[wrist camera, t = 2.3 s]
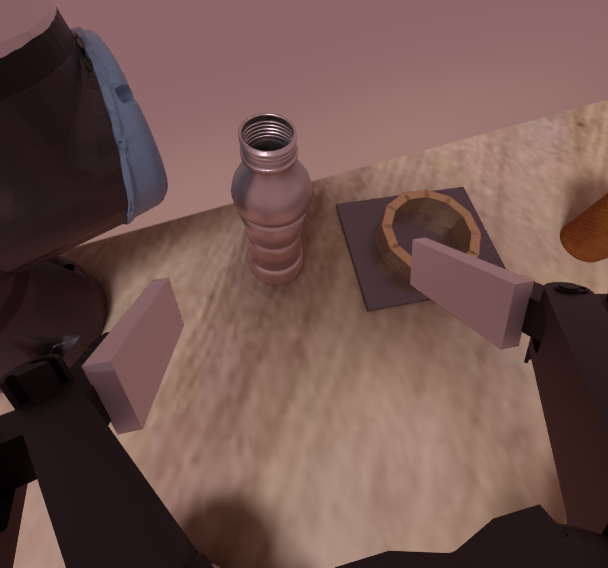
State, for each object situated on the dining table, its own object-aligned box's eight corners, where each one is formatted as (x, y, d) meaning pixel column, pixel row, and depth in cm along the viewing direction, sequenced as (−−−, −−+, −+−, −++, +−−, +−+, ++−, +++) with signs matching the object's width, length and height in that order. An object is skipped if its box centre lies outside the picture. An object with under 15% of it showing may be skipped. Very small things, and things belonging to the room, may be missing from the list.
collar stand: (367, 311, 35) (376, 302, 32) (335, 206, 41) (340, 189, 37) (509, 284, 37) (531, 273, 34) (461, 189, 43) (475, 172, 40)
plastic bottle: (249, 247, 37) (213, 98, 19) (300, 244, 38) (313, 97, 19) (251, 292, 35) (211, 173, 16) (305, 288, 36) (325, 169, 17)
